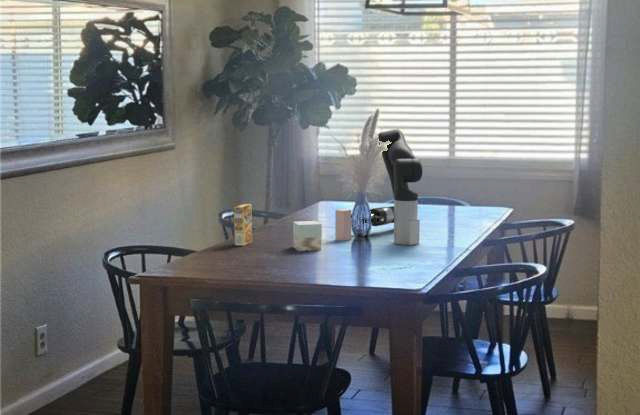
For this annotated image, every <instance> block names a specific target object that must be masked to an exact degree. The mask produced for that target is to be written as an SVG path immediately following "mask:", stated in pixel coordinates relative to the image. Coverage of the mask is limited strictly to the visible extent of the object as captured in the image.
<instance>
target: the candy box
mask: <svg viewBox="0 0 640 415" xmlns="http://www.w3.org/2000/svg"><path fill="white" fill-rule="evenodd" d="M252 210H253V208H252V204H251V203H242V204H239V205H235V206H234V207H233V217H234V218H233V219H234V220H233V223H234V224H233V225H234V246H242V247H243V246H246V245H248V244H253V221H252V220H253V219H252V218H253V216H252V215H253V214H252V212H253V211H252Z"/></svg>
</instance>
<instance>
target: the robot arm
mask: <svg viewBox="0 0 640 415" xmlns="http://www.w3.org/2000/svg"><path fill="white" fill-rule="evenodd" d="M377 136H378V137H377V140H378V139H379V141H382V142H386V141H388V140H389V141H390V142H392V143H391V144H389V145H387V148H388V150H387V151H383V152H382V153H381V156H382V160H383V163H384V165H385V169H386V171H387V174H388V177H389V181H390V184H391V185H390V186H391V190H392V194H393V195H392V196H393V199H394V200H393V206H382V207H381V206H380V207H373V208H371V209H369V210H370V211H371V224H372V225H371V226H372V227H380V226H385V225H386V226H387V225H389V224H393V244H395V245H400V246H402V245H404V246H405V245H407V246H412V245H418V244H420V229H421V228H420V227H421V225H420V224H421V222H420V219H419V218H418V212H419V210H418V208H419V206H418V203H419V201H418V200H419V194H418V193H417V191H414V190H411V189H409V184H408V183H417V182H419V181H421V179H422V177H423V165H422V163H421V161H420V159H419V158H418V157H416V156H415V154H414V153H413V151H412V149H411V147H410V146H409V145H408V143H407V141H406V138H405V135H404V133H403V132H402V131H401V130H400V129H397V128H396V129H390V130H386V131H382V132H379V133H378V135H377ZM379 145H380V143H379V142H378V146H379ZM351 218H352V213H351ZM362 220H363V225H365V224H364V219H362ZM362 220H361V221H362ZM366 221H367V220H365V223H367V222H366Z"/></svg>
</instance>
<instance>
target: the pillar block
mask: <svg viewBox="0 0 640 415" xmlns="http://www.w3.org/2000/svg"><path fill="white" fill-rule="evenodd" d="M351 214H352V209H346V208H340V209H335V217H334V218H335V220H334V223H335V225H334V226H335V227H334V228H335V241H351V240H352V221H351Z"/></svg>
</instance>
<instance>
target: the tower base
mask: <svg viewBox="0 0 640 415" xmlns="http://www.w3.org/2000/svg"><path fill="white" fill-rule="evenodd" d="M292 237H293V240H292V241H293V243H292V244H293V245H292V247H293V248H294V249H295V250H296V251H297V252H301V251H302V252H303V251H305V250H308V251H322V237H315V238H297V237H296V236H295V235H293V234H292Z"/></svg>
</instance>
